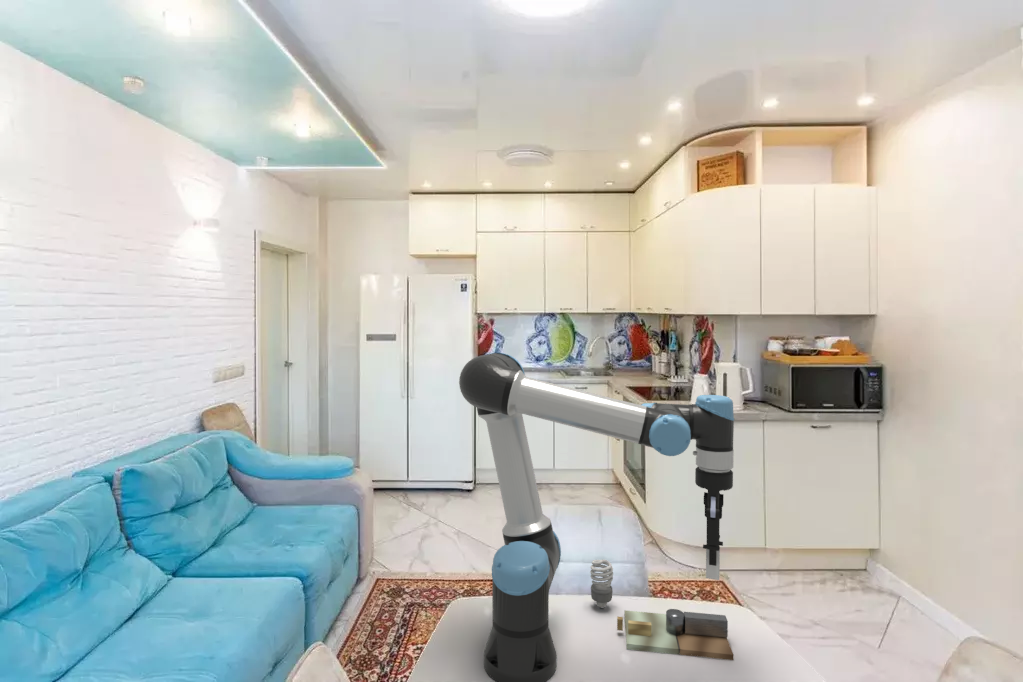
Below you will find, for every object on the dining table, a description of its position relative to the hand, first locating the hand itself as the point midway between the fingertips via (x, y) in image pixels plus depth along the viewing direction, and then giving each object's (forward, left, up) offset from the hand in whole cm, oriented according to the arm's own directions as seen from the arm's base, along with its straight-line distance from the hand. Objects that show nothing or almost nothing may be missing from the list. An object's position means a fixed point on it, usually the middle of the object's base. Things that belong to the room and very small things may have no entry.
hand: (712, 577), depth 115 cm
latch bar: (-3, +5, -15) cm, 16 cm away
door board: (-7, +5, -16) cm, 19 cm away
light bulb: (-24, +14, -17) cm, 32 cm away
